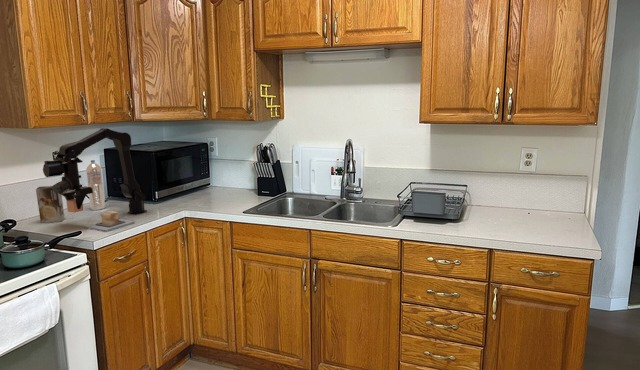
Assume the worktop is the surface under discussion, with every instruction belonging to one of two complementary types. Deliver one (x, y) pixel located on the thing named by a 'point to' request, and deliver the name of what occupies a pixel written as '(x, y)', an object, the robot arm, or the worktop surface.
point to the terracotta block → (73, 206)
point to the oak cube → (110, 218)
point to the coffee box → (49, 205)
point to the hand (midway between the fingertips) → (75, 208)
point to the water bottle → (95, 186)
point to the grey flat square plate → (107, 228)
